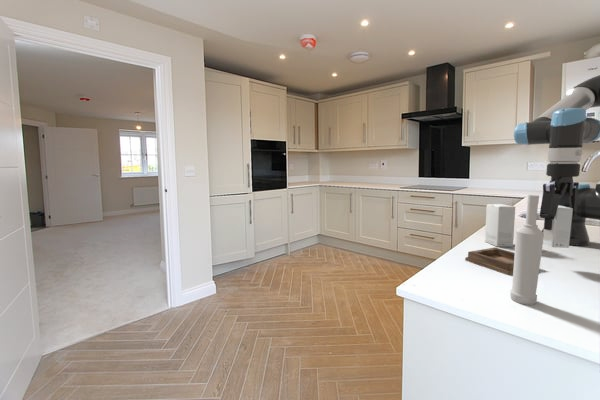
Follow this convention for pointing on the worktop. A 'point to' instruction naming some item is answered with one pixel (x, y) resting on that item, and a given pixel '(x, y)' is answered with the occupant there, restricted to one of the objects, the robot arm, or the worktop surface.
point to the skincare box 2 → (562, 228)
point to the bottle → (527, 256)
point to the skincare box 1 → (500, 225)
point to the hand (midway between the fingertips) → (555, 238)
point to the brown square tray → (493, 259)
